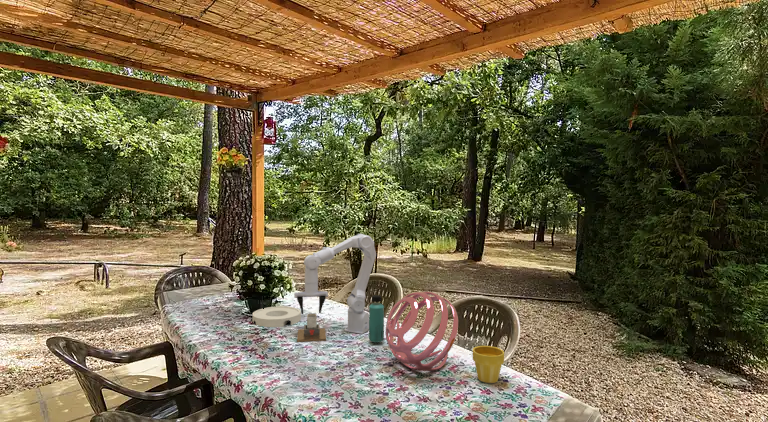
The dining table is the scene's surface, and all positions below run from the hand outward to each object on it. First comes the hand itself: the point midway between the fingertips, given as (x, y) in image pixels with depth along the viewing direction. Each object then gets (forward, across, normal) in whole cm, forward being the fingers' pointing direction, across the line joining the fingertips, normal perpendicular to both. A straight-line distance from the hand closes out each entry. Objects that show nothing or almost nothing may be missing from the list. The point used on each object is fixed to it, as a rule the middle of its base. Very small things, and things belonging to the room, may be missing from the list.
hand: (311, 313), depth 184 cm
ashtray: (+10, +15, -25) cm, 31 cm away
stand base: (+10, 0, +2) cm, 10 cm away
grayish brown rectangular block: (+8, 0, +2) cm, 9 cm away
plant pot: (+10, -55, +58) cm, 81 cm away
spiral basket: (+10, -36, +42) cm, 56 cm away
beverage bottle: (+10, -26, +17) cm, 32 cm away
